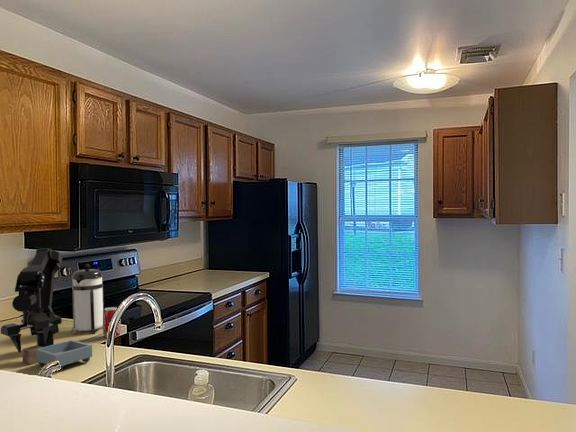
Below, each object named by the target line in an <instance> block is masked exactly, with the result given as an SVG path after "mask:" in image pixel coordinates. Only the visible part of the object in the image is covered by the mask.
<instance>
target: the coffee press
mask: <svg viewBox="0 0 576 432" xmlns="http://www.w3.org/2000/svg"><path fill="white" fill-rule="evenodd" d="M83 267H84V269H79V270H76V271H75V272H73V274H72V276H71V280H72V285H71V286H72V287H71V289H72V323H73V325H72V329H71V330H70V333H71V334H72V335H75V334H76V333H77V332H78V331H80V332H84V331H85V332H86V331H90V334H91V335H96V330H97V329H100V328H103V312H104V309H105V293H104V292H105V290H104V289H105V288H104V284H103V283H104V282H103V277H104V274H102V271H101V270H100V269H96V268H90V267H91V265H90V264H89V263H85V265H84V266H83ZM74 329H75V330H74ZM73 331H74V332H73Z"/></svg>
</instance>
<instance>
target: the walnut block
mask: <svg viewBox="0 0 576 432" xmlns="http://www.w3.org/2000/svg"><path fill="white" fill-rule="evenodd" d="M39 348H43V347H41V346H38V345H37V344H36V345H32V346H29V347H25V348H21V353H22V354H21V355H22V363H23V364H26V365H28V366H31V365H32V366H33V365H36V364H39V363H38V361H36V349H39Z"/></svg>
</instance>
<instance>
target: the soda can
mask: <svg viewBox="0 0 576 432" xmlns="http://www.w3.org/2000/svg"><path fill="white" fill-rule="evenodd" d="M117 307H118V306H110V307H109V306H108V307H104V309H103V325H102V333H103V337H105V338H106V339H108V338H107V332H108V326H109V323H110V320H111V318H112V316H113V314H114V312H115V311H116V309H117ZM121 331H122V319H120V321H119V323H118V327H117V330H116V336H115V338H117V337H119V336H120V335H121Z"/></svg>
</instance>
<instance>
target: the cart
mask: <svg viewBox="0 0 576 432" xmlns="http://www.w3.org/2000/svg"><path fill="white" fill-rule="evenodd" d="M92 357H93V345H92V344H89V343H86V342H82V341H78V340H74V339H69V340H65V341H62V342H58V343H57V342H56V343H54V345H50V346H46V347H43V348H39V349H36V361H38V363H37V364H38V365H39V366H42V367H43V365H44V366H45V365H47V363H49V362H51V361H54V360H58V361H59V363H60V365H61V369H60V370H58V371H57V372H61V370H62V369H63V367H64V366H66V365H70V364H73V363H76V362H79V361H82V362H83V363H88V362H89V361H90V359H91V358H92Z"/></svg>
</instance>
